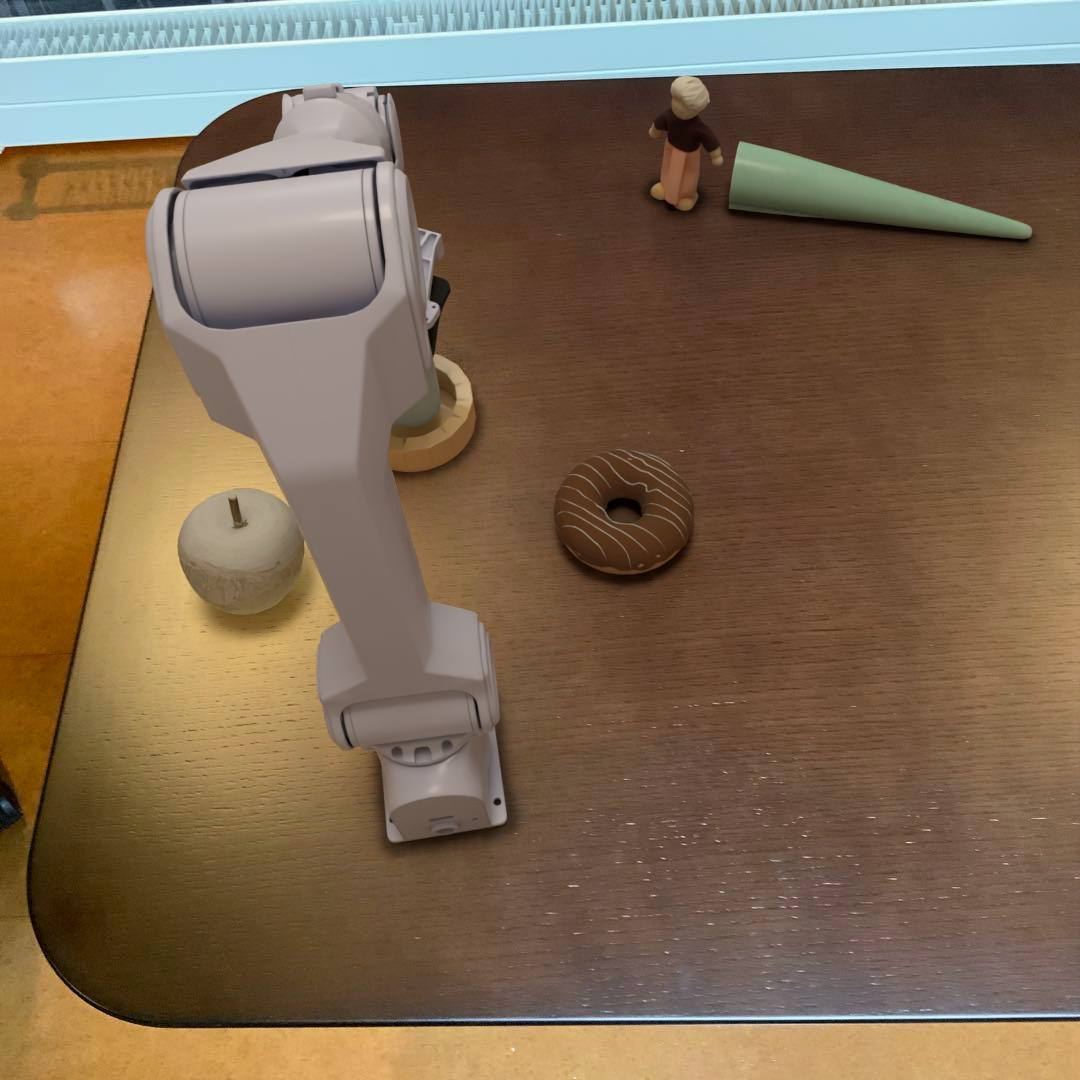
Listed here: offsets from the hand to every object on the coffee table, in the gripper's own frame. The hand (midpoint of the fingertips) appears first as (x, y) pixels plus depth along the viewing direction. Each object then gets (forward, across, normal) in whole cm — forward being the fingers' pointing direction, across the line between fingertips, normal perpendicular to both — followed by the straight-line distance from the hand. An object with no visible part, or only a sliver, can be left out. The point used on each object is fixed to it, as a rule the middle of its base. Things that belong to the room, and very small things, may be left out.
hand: (405, 381), depth 82 cm
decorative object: (+6, -18, +4) cm, 19 cm away
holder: (+5, 0, 0) cm, 5 cm away
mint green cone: (+6, +36, -29) cm, 47 cm away
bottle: (+3, 0, 0) cm, 3 cm away
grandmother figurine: (+6, +32, -12) cm, 35 cm away
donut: (+6, -3, -20) cm, 20 cm away
